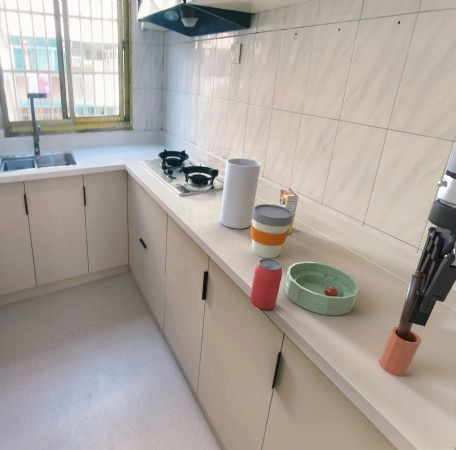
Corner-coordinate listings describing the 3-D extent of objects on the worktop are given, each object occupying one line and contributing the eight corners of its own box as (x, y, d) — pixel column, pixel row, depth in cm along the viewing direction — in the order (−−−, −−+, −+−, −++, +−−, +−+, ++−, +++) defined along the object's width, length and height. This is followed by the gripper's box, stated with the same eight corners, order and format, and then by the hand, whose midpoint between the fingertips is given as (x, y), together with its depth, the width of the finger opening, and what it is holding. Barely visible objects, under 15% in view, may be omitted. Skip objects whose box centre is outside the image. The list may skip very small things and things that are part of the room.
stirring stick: (399, 362, 70) (425, 269, 62) (401, 369, 68) (427, 275, 60) (388, 360, 71) (411, 268, 63) (389, 366, 69) (414, 273, 61)
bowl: (350, 289, 96) (356, 271, 94) (354, 326, 82) (361, 306, 79) (287, 273, 103) (290, 256, 100) (279, 305, 88) (284, 285, 86)
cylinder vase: (213, 218, 140) (220, 159, 130) (239, 215, 144) (247, 157, 134) (230, 231, 129) (238, 167, 119) (257, 227, 134) (267, 165, 123)
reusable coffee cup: (269, 264, 107) (277, 221, 101) (238, 248, 117) (244, 208, 110) (292, 254, 114) (301, 213, 108) (261, 240, 123) (268, 201, 117)
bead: (336, 296, 92) (339, 286, 90) (336, 302, 89) (339, 292, 88) (323, 292, 93) (326, 283, 92) (323, 299, 90) (325, 289, 89)
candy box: (273, 223, 138) (280, 188, 131) (284, 224, 137) (291, 188, 131) (279, 233, 129) (287, 195, 123) (291, 233, 129) (299, 196, 123)
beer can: (244, 301, 89) (251, 262, 84) (258, 292, 93) (266, 254, 88) (265, 314, 85) (274, 273, 80) (280, 304, 89) (289, 265, 84)
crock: (403, 364, 71) (418, 331, 68) (407, 381, 67) (423, 347, 64) (377, 356, 73) (390, 324, 69) (379, 372, 69) (393, 339, 65)
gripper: (425, 188, 63) (386, 293, 72) (448, 215, 50) (397, 337, 60) (476, 194, 60) (428, 303, 70) (514, 225, 47) (449, 351, 57)
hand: (414, 318), depth 65 cm, fingers closed on stirring stick, 2 cm apart
